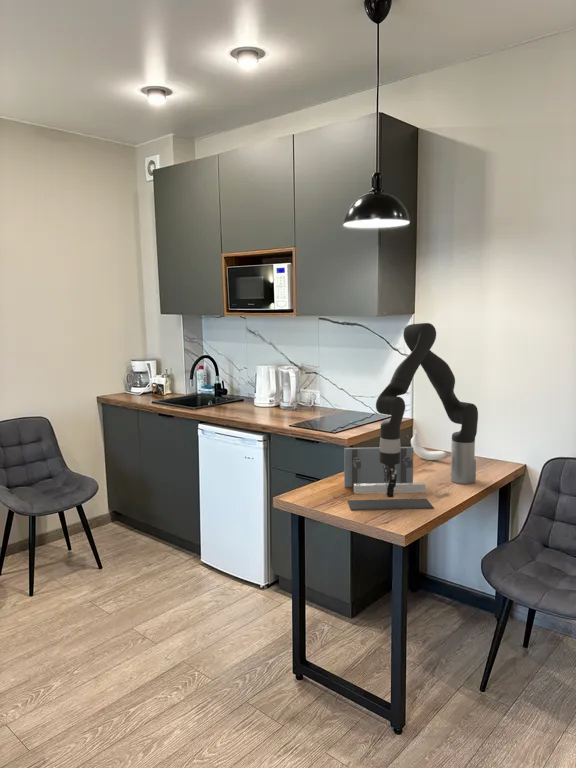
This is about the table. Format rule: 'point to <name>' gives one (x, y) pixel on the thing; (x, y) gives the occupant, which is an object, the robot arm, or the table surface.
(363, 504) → the mat
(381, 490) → the rail
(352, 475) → the rail stand
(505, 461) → the table surface
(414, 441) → the banana
